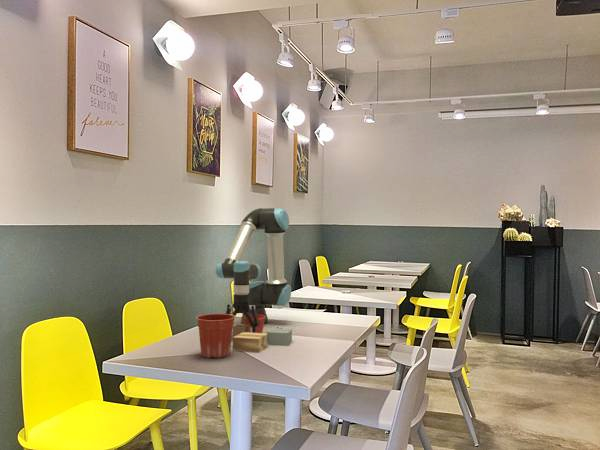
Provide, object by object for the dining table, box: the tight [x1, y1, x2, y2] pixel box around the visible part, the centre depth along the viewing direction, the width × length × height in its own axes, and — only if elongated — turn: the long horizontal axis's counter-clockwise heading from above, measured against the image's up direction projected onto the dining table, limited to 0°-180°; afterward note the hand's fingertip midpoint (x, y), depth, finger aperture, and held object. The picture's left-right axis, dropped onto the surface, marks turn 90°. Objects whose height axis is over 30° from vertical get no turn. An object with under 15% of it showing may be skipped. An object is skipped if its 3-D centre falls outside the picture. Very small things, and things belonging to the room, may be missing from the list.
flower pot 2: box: [243, 314, 265, 333], centre depth 252 cm, size 11×11×10 cm
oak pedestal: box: [232, 332, 269, 353], centre depth 225 cm, size 12×12×6 cm
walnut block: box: [232, 323, 249, 338], centre depth 241 cm, size 6×6×7 cm
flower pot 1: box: [195, 313, 236, 359], centre depth 214 cm, size 16×16×16 cm
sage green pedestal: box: [266, 327, 293, 347], centre depth 236 cm, size 10×10×6 cm
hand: (240, 340), depth 241 cm, fingers open, 10 cm apart
